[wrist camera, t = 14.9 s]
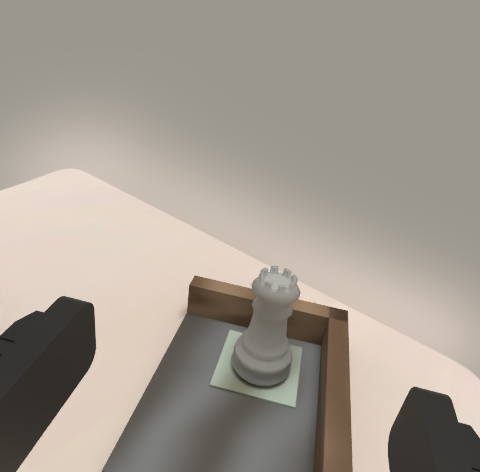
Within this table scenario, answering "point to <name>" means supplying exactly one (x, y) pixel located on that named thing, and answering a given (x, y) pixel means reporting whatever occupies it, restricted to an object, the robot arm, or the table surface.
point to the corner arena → (242, 395)
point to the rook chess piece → (267, 330)
